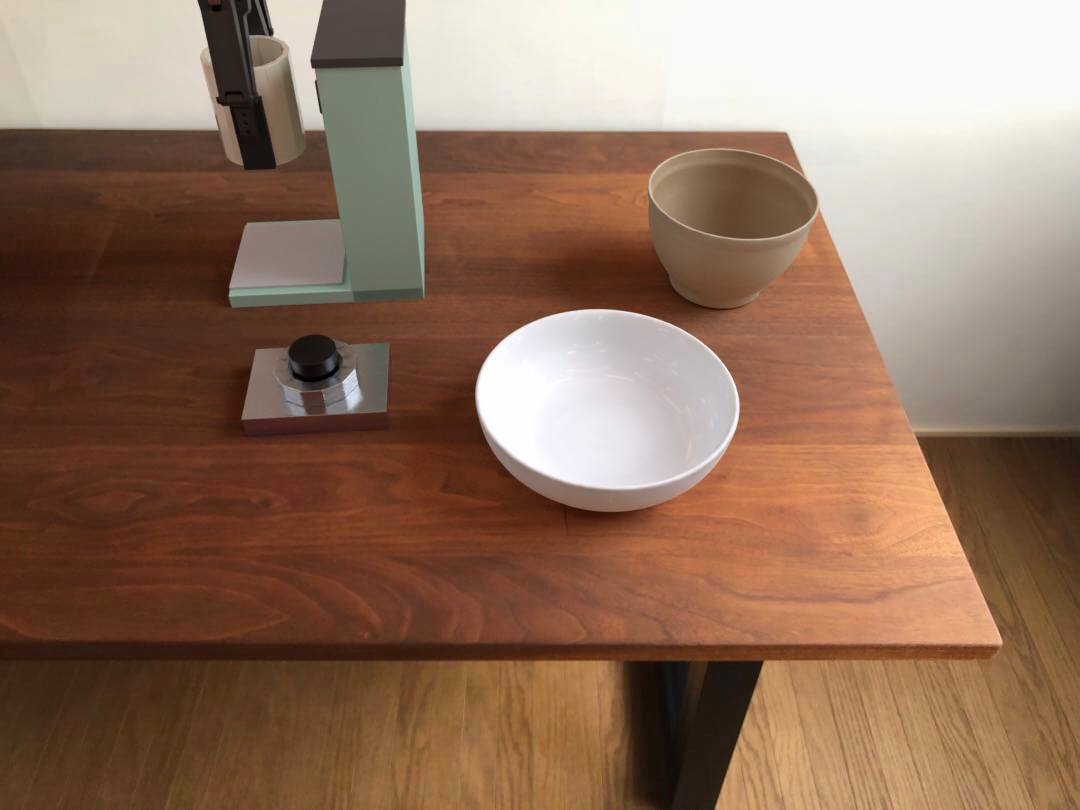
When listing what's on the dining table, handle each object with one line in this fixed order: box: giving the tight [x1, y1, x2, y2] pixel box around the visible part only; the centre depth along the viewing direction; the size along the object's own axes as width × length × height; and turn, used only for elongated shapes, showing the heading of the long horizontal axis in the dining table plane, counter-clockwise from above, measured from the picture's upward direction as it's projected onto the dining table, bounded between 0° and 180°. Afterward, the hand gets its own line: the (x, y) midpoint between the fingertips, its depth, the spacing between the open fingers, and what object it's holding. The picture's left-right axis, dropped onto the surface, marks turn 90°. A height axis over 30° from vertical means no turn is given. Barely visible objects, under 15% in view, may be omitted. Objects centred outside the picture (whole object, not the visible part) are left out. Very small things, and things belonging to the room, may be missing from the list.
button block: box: [240, 337, 393, 438], centre depth 78 cm, size 12×9×4 cm
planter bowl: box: [647, 147, 820, 309], centre depth 88 cm, size 16×16×11 cm
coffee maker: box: [227, 0, 425, 309], centre depth 85 cm, size 19×13×25 cm
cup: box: [199, 35, 307, 167], centre depth 80 cm, size 7×7×9 cm
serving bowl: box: [474, 308, 740, 513], centre depth 73 cm, size 21×21×7 cm
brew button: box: [288, 333, 339, 382], centre depth 76 cm, size 4×4×2 cm
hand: (266, 144), depth 83 cm, fingers closed on cup, 7 cm apart
